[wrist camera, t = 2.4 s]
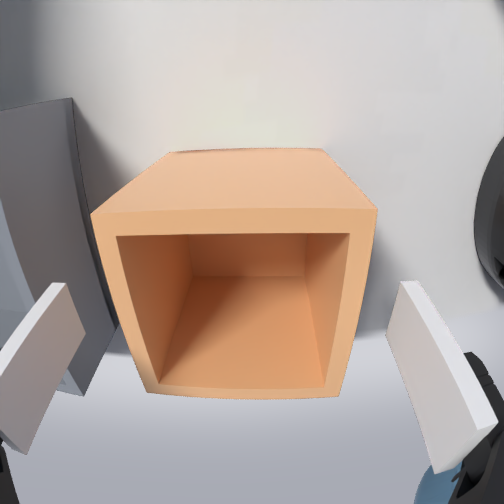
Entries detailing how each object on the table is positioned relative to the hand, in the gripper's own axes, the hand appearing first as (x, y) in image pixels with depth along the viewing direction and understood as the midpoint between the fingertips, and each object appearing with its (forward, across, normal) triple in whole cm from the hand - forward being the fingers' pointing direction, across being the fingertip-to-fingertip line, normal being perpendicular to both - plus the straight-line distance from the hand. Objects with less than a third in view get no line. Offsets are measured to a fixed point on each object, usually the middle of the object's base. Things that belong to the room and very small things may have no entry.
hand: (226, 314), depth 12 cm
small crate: (+10, 0, 0) cm, 10 cm away
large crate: (+10, +22, 0) cm, 24 cm away
